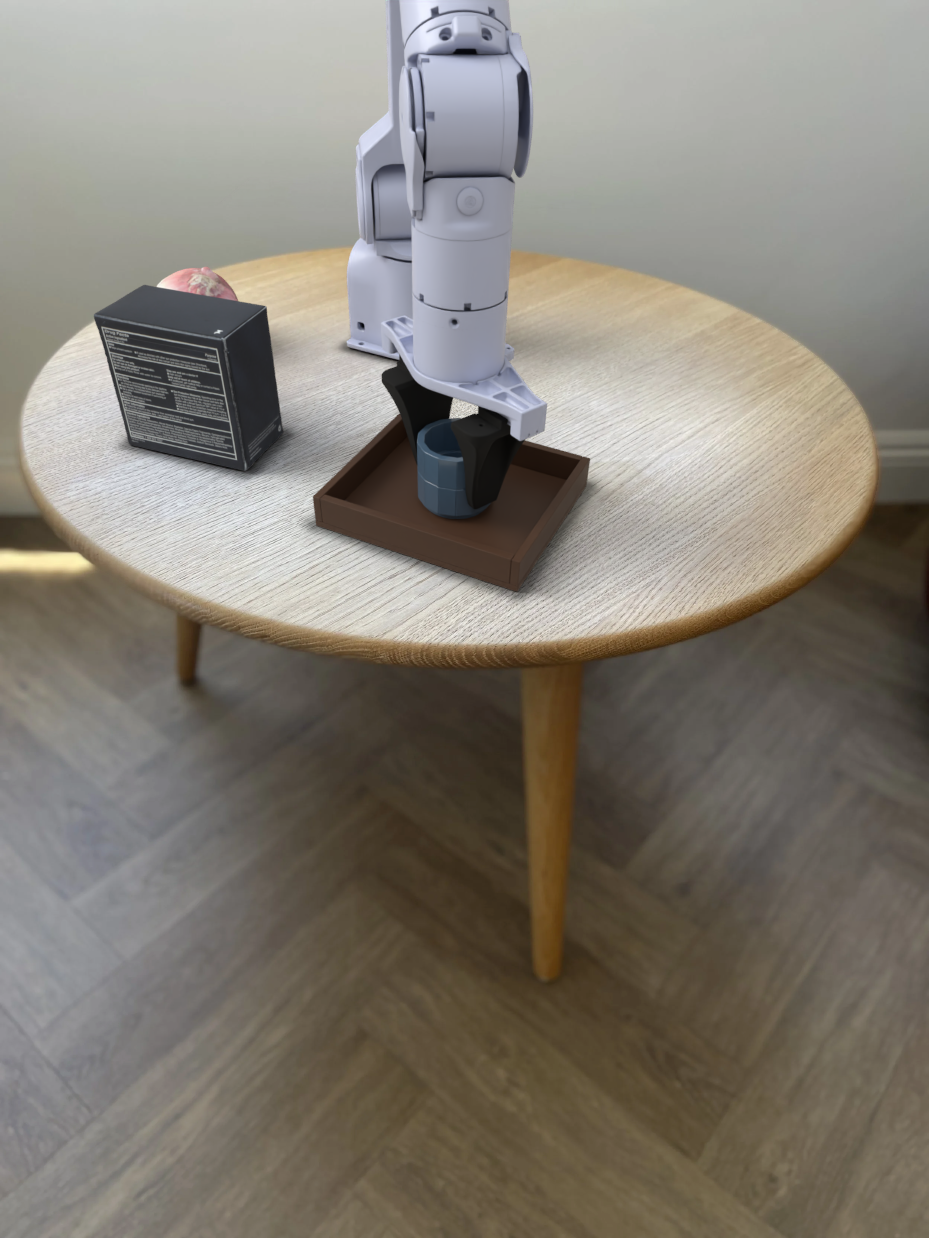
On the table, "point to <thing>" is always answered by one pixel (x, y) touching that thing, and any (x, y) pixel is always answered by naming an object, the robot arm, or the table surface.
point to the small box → (193, 374)
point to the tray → (477, 546)
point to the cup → (442, 472)
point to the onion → (199, 283)
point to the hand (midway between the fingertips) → (456, 481)
